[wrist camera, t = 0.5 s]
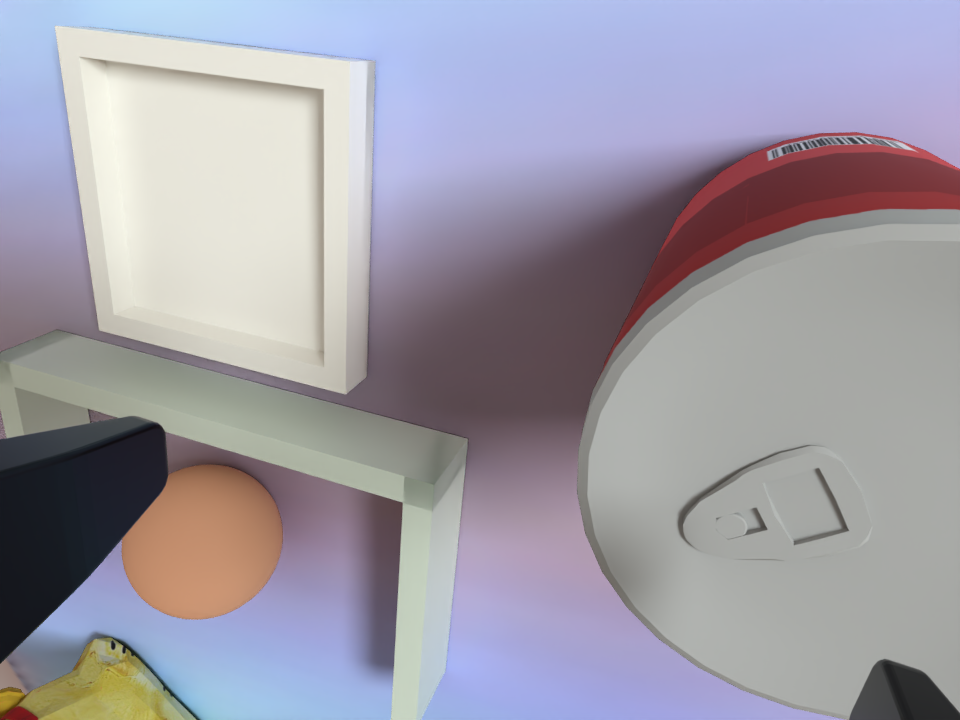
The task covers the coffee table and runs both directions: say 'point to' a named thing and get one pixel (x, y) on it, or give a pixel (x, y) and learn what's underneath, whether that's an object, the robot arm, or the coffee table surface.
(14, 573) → the robot arm
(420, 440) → the corral
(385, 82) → the coffee table surface
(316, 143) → the dish
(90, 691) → the chocolate bunny
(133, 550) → the ball
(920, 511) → the canned food
